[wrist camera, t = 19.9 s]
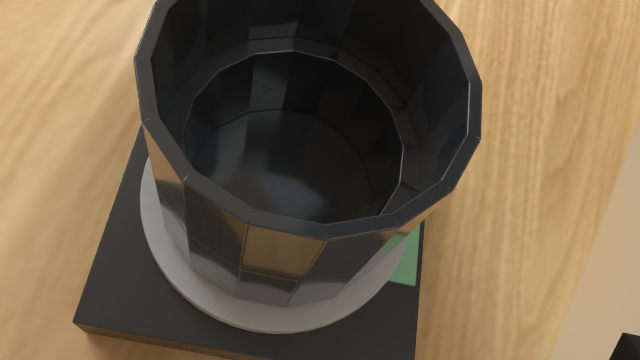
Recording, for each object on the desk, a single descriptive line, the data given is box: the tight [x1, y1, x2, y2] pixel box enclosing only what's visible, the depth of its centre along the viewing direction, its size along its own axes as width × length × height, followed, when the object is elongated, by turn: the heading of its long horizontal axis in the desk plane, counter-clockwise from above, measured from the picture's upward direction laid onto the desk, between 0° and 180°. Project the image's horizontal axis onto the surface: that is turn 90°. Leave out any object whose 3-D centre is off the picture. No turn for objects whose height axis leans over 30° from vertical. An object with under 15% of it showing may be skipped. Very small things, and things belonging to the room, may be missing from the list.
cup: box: [133, 0, 482, 308], centre depth 22 cm, size 11×11×10 cm
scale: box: [73, 124, 425, 360], centre depth 28 cm, size 15×15×3 cm
